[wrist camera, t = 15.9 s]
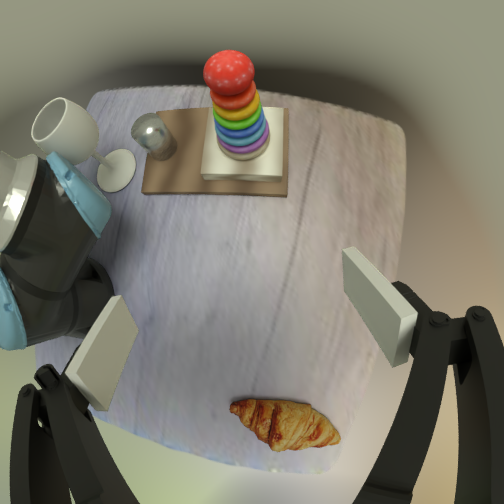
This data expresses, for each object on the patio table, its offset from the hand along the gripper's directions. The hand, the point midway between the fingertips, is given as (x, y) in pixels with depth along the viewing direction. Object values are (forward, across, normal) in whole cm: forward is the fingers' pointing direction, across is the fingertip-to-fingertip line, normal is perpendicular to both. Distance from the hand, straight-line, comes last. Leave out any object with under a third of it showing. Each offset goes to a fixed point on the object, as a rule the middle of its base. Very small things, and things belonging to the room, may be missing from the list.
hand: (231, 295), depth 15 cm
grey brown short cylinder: (+34, -10, +10) cm, 37 cm away
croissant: (+13, +1, -36) cm, 38 cm away
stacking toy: (+30, +3, +8) cm, 31 cm away
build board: (+34, -1, +8) cm, 35 cm away
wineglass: (+35, -21, +9) cm, 42 cm away
